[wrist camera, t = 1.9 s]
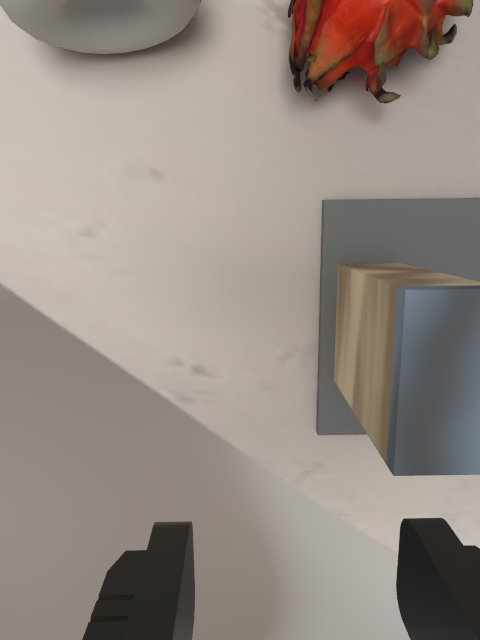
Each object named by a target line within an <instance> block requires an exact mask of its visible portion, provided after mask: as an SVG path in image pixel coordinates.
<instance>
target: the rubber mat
mask: <svg viewBox="0 0 480 640" xmlns="http://www.w3.org/2000/svg"><path fill="white" fill-rule="evenodd" d="M343 263H402V264H406V265H411V266H415V267H419V268H423V269H427V270H432V271H436V272H440V273H444V274H448V275H453V276H457V277H461V278H465V279H469V280H473V281H478V282H480V198H464V199H373V200H322V238H321V277H320V316H319V355H318V393H317V434H318V435H357V434H367V433H366V431H365V429H364V428H363V426H362V425H361V423H360V421H359V420H358V418H357V417H356V415H355V413H354V412H353V410H352V409H351V407H350V405H349V404H348V402H347V401H346V399H345V398H344V396H343V394H342V393H341V391H340V390H339V388H338V386H337V385H336V383H335V382H334V367H335V337H336V307H337V277H338V264H343Z"/></svg>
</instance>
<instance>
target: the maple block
mask: <svg viewBox="0 0 480 640" xmlns="http://www.w3.org/2000/svg"><path fill="white" fill-rule="evenodd" d="M334 382H335V383H336V385H337V386H338V388H339V390H340V391H341V393H342V394H343V396H344V398H345V399H346V401H347V402H348V404H349V405H350V407H351V409H352V410H353V412H354V413H355V415H356V417H357V418H358V420H359V421H360V423H361V425H362V426H363V428H364V429H365V431H366V433H367V434H368V436H369V437H370V439H371V441H372V442H373V444H374V445H375V447H376V449H377V450H378V452H379V453H380V455H381V457H382V458H383V460H384V461H385V463H386V465H387V466H388V468H389V469H390V471H391V472H392V474H393V476H413V475H478V474H480V282H478V281H473V280H469V279H465V278H461V277H457V276H453V275H448V274H444V273H440V272H436V271H432V270H427V269H423V268H419V267H415V266H411V265H406V264H402V263H343V264H338V277H337V307H336V337H335V367H334Z"/></svg>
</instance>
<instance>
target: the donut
mask: <svg viewBox="0 0 480 640" xmlns="http://www.w3.org/2000/svg"><path fill="white" fill-rule="evenodd" d="M200 1H201V0H0V5H1V7H2V8H3V9H4V11H5V12H6V14H7V15H8V17H9V18H10V20H11V21H12V22H13V23H14V24H16V25H17V26H18V27H19V28H21V29H22V30H24V31H25V32H27V33H28V34H30V35H31V36H33V37H34V38H36V39H38V40H40V41H43V42H46V43H48V44H51V45H54V46H56V47H59V48H62V49H67V50H72V51H77V52H82V53H97V54H112V53H126V52H131V51H136V50H141V49H146V48H149V47H151V46H154V45H157V44H160V43H162V42H164V41H167V40H168V39H170V38H172V37H173V36H175V35H176V34H178V33H179V32H181V31H182V30H183V29H184V28H185V27H186V25H187V24H188V23H189V21H190V20H191V19H192V17H193V16H194V15H195V14H196V12H197V11H198V8H199V5H200Z"/></svg>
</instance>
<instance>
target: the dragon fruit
mask: <svg viewBox="0 0 480 640" xmlns="http://www.w3.org/2000/svg"><path fill="white" fill-rule="evenodd" d="M472 7H473V0H291V2H290V6H289V10H288V17H289V18H290V16H291V13H292V14H293V35H292V42H291V46H290V51H289V62H290V68H291V71H292V74H293V75H294V76H295V78H294V86H295V89H296V90H297V92H299V91H301V79H300V72H301V71H302V70H303V68H304V63H305V61H306V60H308V61H309V62H311V63H310V67H309V69H308V70H307V72H306V74H305V78H306V80H305V82H304V84H303V85H304V87H305V88H306V86H307V87H308V89H309V90H310V91H311V92H312V85H313V86H314V87H316V88H320V89H323V90H326V91H328V92H330V91H331V90H332V87H333V85H334V82H335V81H338V80H343V79H344V78H345V77H346V75H347V74H349V73H350V72H346V71H347V70H349V69H351V68H354V67H360V68H362V69H364V70H365V71H366V73H367V74H368V77H367V81H366V91H368V88H369V91H370V92H371V94H372V95H374V96H375V98H376V99H377V100H378V101H379V102H380V103H389V102H392V101H394V100H396V99H398V98H399V97H400V96H401V95H398V94H396V93H393V92H386V91H385V90H384V89H383V88H382V85H384V83H385V81H386V68H385V66H386V65H388V66H398V64H399V62H400V59H401V58H402V56H403V54H404V52H405V51H406V49H407V48H408V47H413V48H415V49H416V50H417V51H418V52H419V54H420V55H421V56H423V57H425V58H427V59H429V60H430V59H432V58H433V57H435V56H436V55H437V54H438V51H439V47H438V45H443V44H447V43H448V44H449V43H451V42H452V41H453V39H454V37H455V35H456V32H457V27H456V24H454V25H453V26H452V27H451V28H450V30H449V31H448V32H447V33H446V34H444V35H443V34H442V23H443V21H444V18H445V15H452V16H462V15H465V16H467V17H469V16H470V14H471V11H472ZM306 90H307V89H306ZM307 92H308V91H307ZM312 93H313V92H312ZM310 96H311V95H310ZM316 101H317V100H316ZM319 106H320V105H319Z"/></svg>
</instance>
